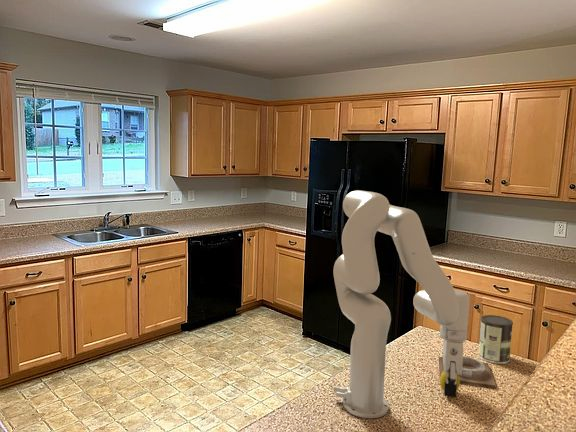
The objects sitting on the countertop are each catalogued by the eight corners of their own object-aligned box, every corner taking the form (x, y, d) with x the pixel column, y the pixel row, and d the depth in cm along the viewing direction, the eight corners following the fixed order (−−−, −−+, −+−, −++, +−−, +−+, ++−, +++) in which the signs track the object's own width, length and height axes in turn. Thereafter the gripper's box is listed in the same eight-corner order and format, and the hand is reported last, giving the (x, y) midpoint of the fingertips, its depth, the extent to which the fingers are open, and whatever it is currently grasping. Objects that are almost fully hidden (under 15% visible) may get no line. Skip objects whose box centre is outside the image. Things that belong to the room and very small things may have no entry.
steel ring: (448, 375, 142) (449, 367, 142) (446, 360, 153) (447, 353, 152) (485, 380, 139) (486, 372, 139) (481, 365, 150) (481, 358, 149)
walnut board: (440, 380, 140) (440, 377, 140) (438, 359, 156) (438, 356, 156) (495, 388, 136) (495, 385, 136) (487, 366, 151) (488, 363, 151)
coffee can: (504, 353, 162) (507, 315, 161) (513, 365, 152) (517, 326, 151) (474, 350, 164) (477, 313, 162) (482, 362, 154) (485, 323, 152)
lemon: (460, 399, 129) (462, 373, 128) (440, 397, 130) (442, 371, 129) (457, 390, 134) (459, 365, 133) (438, 388, 136) (439, 363, 135)
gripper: (470, 345, 121) (465, 408, 123) (464, 324, 137) (460, 379, 139) (441, 341, 123) (437, 403, 125) (438, 321, 139) (434, 375, 141)
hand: (449, 390), depth 132 cm, fingers closed on lemon, 5 cm apart
